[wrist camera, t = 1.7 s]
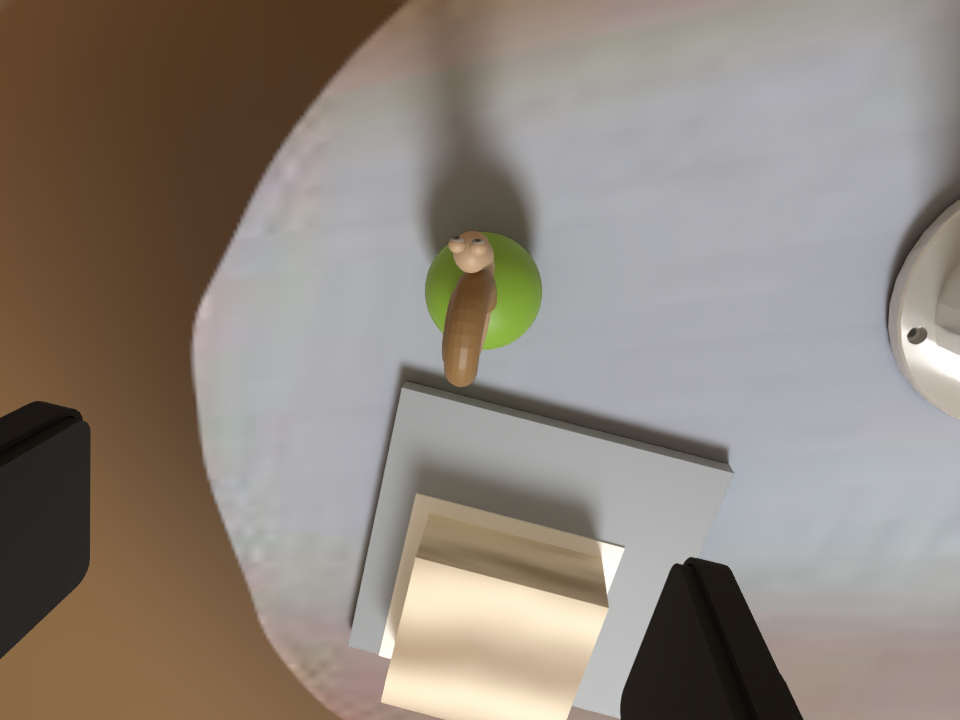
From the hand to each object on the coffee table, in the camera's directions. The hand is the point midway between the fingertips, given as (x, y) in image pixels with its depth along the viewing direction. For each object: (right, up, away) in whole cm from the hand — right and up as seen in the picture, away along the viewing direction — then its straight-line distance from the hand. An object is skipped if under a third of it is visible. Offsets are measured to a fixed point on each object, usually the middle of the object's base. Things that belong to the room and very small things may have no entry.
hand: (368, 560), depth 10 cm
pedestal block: (+3, -11, +26) cm, 29 cm away
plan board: (+4, -8, +26) cm, 28 cm away
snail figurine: (+2, +8, +21) cm, 23 cm away
